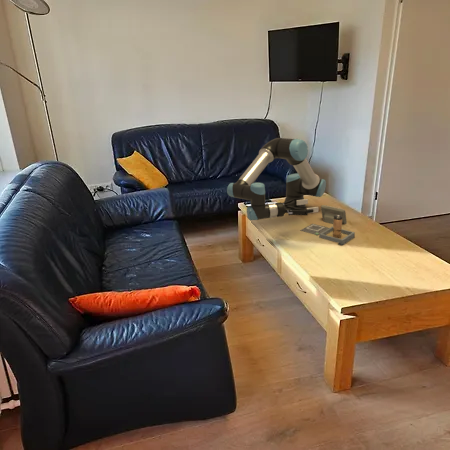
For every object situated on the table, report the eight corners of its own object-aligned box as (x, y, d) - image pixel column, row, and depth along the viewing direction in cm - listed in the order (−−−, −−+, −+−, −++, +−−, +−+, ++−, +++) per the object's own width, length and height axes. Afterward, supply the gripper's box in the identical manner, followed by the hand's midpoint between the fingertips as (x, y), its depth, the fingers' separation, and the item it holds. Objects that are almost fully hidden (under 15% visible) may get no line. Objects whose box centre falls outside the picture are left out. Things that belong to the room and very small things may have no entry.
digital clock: (348, 224, 238) (349, 208, 235) (338, 228, 234) (339, 211, 230) (327, 217, 251) (328, 201, 247) (317, 221, 246) (318, 205, 242)
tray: (331, 231, 230) (332, 226, 229) (354, 237, 221) (354, 232, 220) (319, 239, 220) (319, 234, 219) (342, 245, 211) (342, 240, 210)
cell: (335, 234, 223) (336, 213, 218) (342, 236, 220) (344, 215, 216) (331, 237, 220) (332, 215, 215) (338, 239, 217) (339, 217, 213)
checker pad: (312, 225, 240) (312, 222, 239) (330, 229, 232) (330, 226, 232) (299, 232, 231) (299, 228, 230) (317, 237, 223) (318, 233, 222)
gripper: (268, 209, 224) (303, 204, 228) (283, 225, 202) (322, 219, 206) (268, 196, 221) (303, 192, 225) (284, 211, 199) (323, 206, 203)
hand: (312, 205), depth 215 cm, fingers open, 13 cm apart
